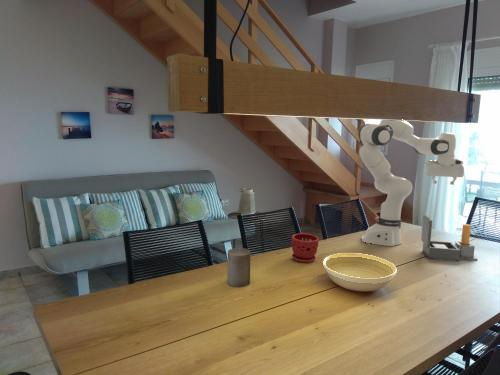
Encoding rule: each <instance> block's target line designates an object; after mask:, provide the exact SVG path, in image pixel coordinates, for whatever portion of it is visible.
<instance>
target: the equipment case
mask: <svg viewBox="0 0 500 375" xmlns="http://www.w3.org/2000/svg"><path fill="white" fill-rule="evenodd" d="M421 227H422V228H421V240H420V241H421V242H422V252H423V254H425V256H426V258H427V259H428V260H434V261H435V260H436V261H447V262H448V261H449V262H459V261H460V259H459V252H460V250H459V249H458V248H457V247H456V246H455V243H453V241H441V240H431V238H432V227H433V220H432V219H431V218H430V217H429V216H428V215H427V214H423V215H422V225H421Z"/></svg>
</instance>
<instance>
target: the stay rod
mask: <svg viewBox="0 0 500 375" xmlns="http://www.w3.org/2000/svg"><path fill="white" fill-rule="evenodd" d="M471 228H472V224H471V225H470V224H468V223H467V224H464V223H463V224H462V232H461V238H460V239H461V240H460V242H461V245H469V243H470V238H471V237H470V236H471Z"/></svg>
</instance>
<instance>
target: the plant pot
mask: <svg viewBox="0 0 500 375" xmlns="http://www.w3.org/2000/svg"><path fill="white" fill-rule="evenodd" d="M319 241H320V240H319V237H318V236H316V235H313V234H310V233H294V234H293V235H292V236H291V248H292V252H293V253H292V254H291V257H292V259H293V260H294V261H296V262H297V263H298V262H299V263H303V264H304V263H305V264H307V263H312V262H314V261H315V260H316V256H315V255H316V254H317V252H318V248H319Z"/></svg>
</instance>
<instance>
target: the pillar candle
mask: <svg viewBox="0 0 500 375" xmlns="http://www.w3.org/2000/svg"><path fill="white" fill-rule="evenodd" d="M251 253H252V252H251V250H250V249H247V248H243V247H236V248H230V249H228V250H227V280H226V281H227V285H230V286H231V287H236V288H240V287H241V288H243V287H246V286H249V285H250V283H251V257H252V256H251V255H252V254H251Z"/></svg>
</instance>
